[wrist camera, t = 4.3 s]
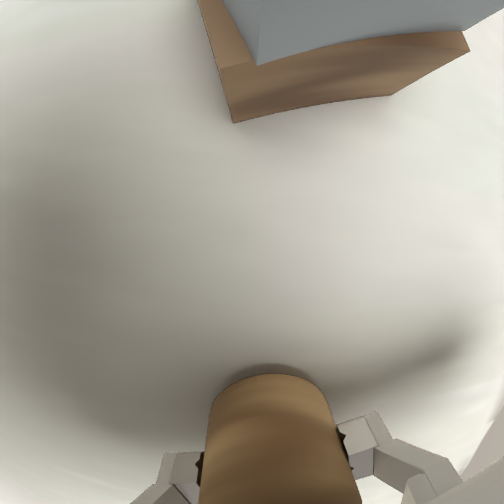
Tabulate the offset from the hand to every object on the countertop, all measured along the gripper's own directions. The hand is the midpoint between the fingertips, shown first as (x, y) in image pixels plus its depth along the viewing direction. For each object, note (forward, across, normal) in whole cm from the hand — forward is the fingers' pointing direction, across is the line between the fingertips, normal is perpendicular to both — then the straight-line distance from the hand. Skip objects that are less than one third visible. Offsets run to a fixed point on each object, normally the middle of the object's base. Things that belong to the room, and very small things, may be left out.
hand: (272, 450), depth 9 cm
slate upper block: (-2, -4, -14) cm, 15 cm away
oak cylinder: (+2, 0, 0) cm, 2 cm away
